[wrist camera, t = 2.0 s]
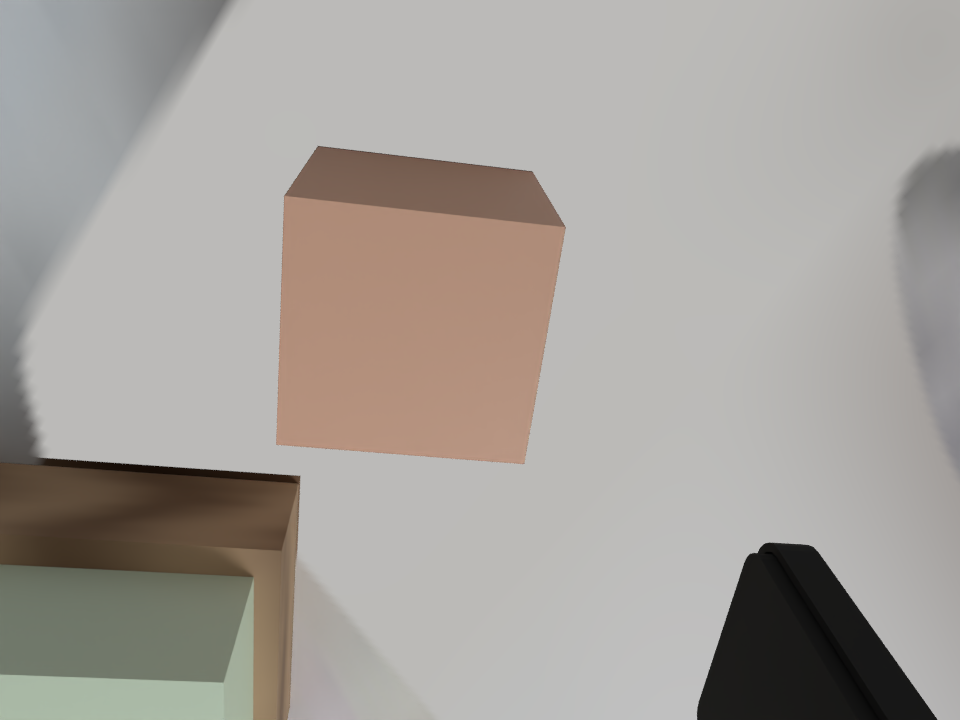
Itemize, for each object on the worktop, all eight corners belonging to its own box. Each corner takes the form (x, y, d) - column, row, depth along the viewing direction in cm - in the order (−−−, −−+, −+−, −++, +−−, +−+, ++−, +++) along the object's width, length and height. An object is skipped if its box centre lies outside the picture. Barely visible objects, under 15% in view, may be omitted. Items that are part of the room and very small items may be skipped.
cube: (532, 171, 23) (565, 227, 18) (502, 362, 26) (524, 463, 20) (318, 146, 22) (284, 196, 17) (308, 344, 25) (276, 444, 19)
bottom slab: (300, 476, 27) (281, 550, 24) (291, 697, 31) (274, 790, 28) (-17, 453, 26) (-88, 528, 23) (16, 686, 30) (-39, 781, 27)
